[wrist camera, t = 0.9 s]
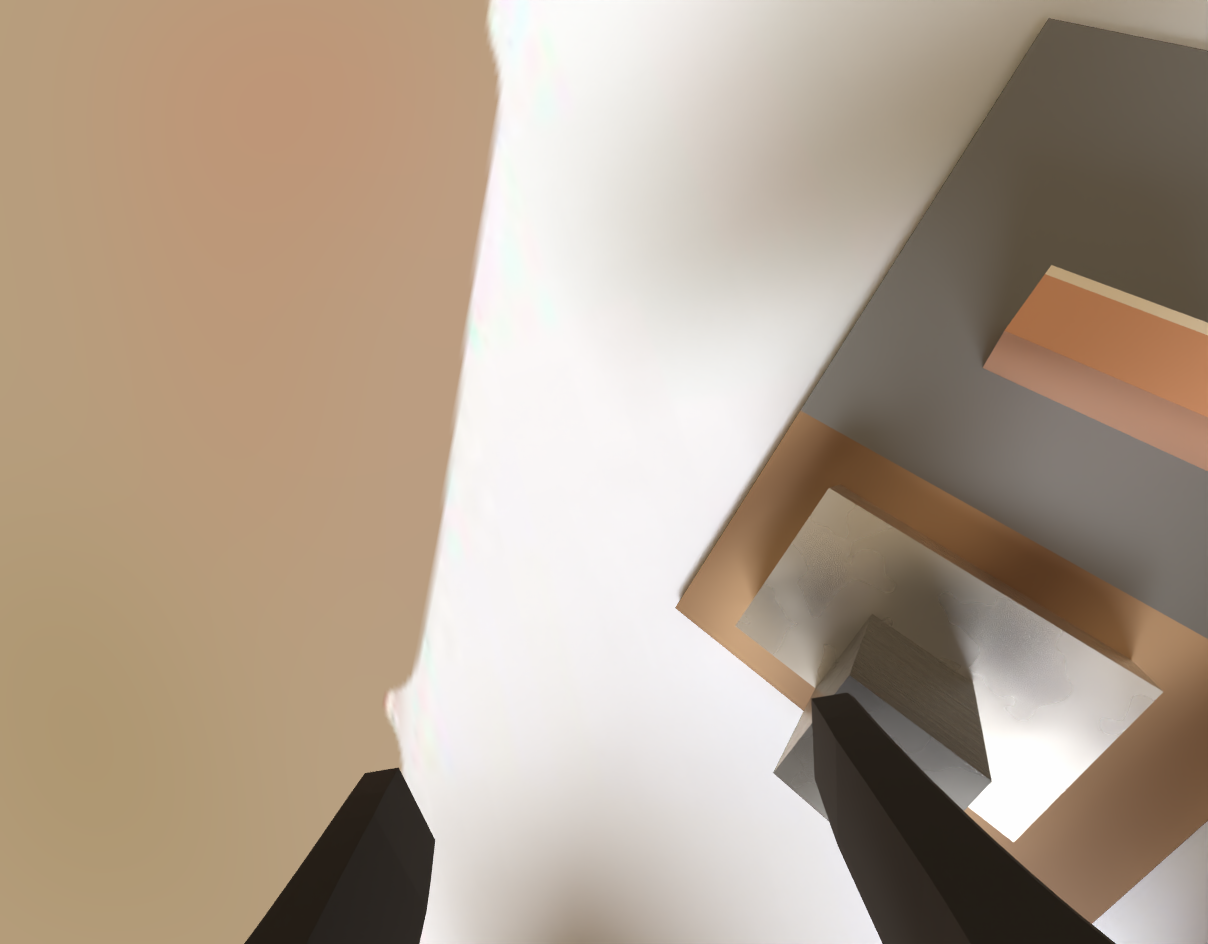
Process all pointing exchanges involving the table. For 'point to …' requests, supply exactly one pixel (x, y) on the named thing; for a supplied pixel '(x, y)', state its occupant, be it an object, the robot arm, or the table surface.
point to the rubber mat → (1007, 278)
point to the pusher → (940, 663)
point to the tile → (1112, 361)
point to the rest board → (1146, 636)
